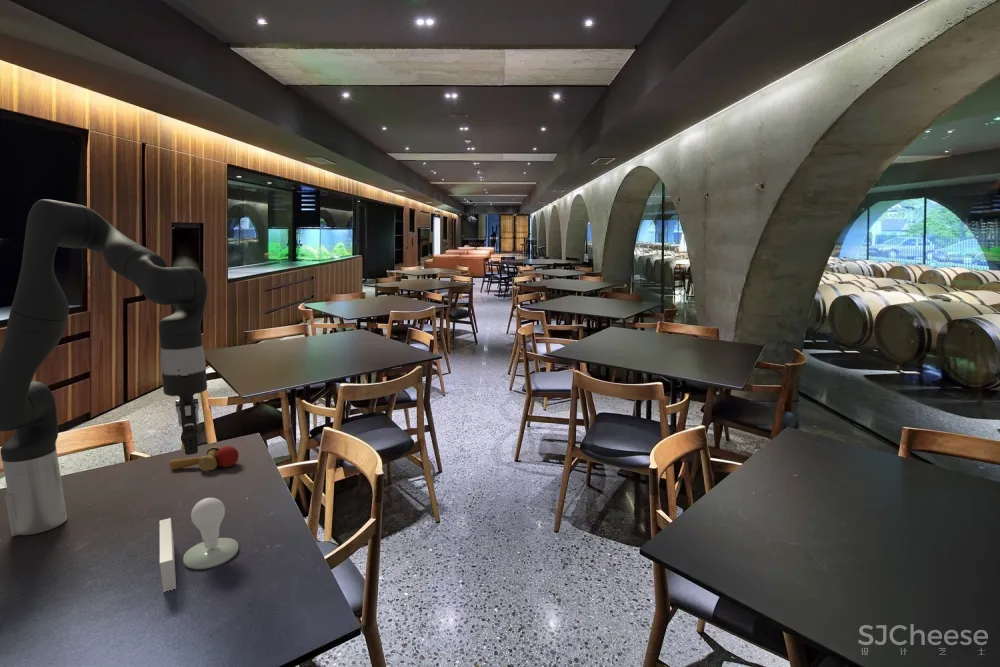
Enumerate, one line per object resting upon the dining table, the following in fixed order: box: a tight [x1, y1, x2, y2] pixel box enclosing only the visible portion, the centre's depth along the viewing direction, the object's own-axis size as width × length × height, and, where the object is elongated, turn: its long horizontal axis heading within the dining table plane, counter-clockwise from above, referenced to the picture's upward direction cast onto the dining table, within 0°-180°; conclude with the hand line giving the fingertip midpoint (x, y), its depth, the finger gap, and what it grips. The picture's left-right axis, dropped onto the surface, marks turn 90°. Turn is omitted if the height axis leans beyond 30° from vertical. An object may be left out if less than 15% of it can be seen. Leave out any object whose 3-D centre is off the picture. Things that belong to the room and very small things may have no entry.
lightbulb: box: [190, 497, 226, 549], centre depth 109 cm, size 6×6×11 cm
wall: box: [159, 517, 177, 593], centre depth 105 cm, size 2×18×6 cm, turn 33°
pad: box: [183, 537, 239, 570], centre depth 109 cm, size 10×10×1 cm
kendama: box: [169, 445, 239, 472], centre depth 153 cm, size 8×6×18 cm
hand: (190, 446), depth 107 cm, fingers open, 8 cm apart
